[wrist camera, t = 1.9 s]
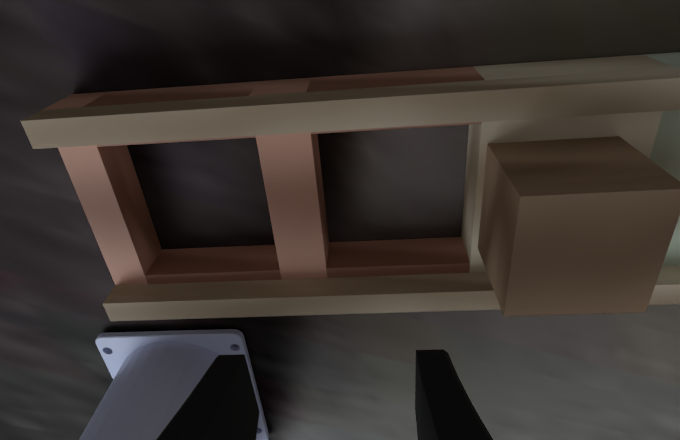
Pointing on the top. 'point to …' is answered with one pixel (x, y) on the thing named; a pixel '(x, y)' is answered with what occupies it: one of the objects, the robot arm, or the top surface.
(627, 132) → the trap lane
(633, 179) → the walnut block
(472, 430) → the robot arm
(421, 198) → the top surface
